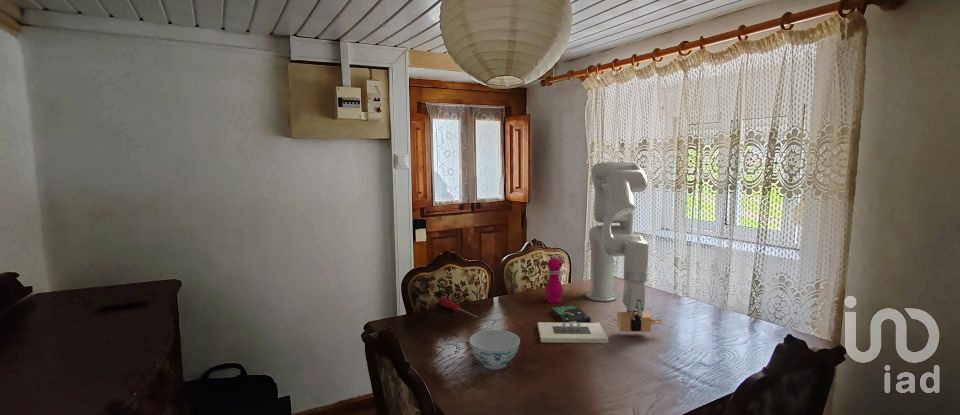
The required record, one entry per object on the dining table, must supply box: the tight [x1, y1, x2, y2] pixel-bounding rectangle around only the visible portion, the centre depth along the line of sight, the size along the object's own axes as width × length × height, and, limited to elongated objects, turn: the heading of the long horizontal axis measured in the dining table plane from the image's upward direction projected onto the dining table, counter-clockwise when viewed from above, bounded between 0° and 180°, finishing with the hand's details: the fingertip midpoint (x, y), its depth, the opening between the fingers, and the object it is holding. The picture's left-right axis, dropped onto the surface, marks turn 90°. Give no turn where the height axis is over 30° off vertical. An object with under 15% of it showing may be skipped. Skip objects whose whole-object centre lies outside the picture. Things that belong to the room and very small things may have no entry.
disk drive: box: [550, 305, 592, 323], centre depth 170 cm, size 10×3×15 cm
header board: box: [537, 321, 609, 344], centre depth 155 cm, size 14×22×4 cm, turn 87°
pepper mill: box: [545, 254, 564, 304], centre depth 189 cm, size 7×7×20 cm
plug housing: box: [616, 311, 664, 333], centre depth 152 cm, size 5×14×5 cm, turn 87°
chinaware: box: [468, 329, 521, 370], centre depth 133 cm, size 15×15×8 cm
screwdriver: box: [438, 296, 478, 318], centre depth 178 cm, size 4×25×4 cm, turn 37°
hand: (633, 326), depth 153 cm, fingers closed on plug housing, 5 cm apart
